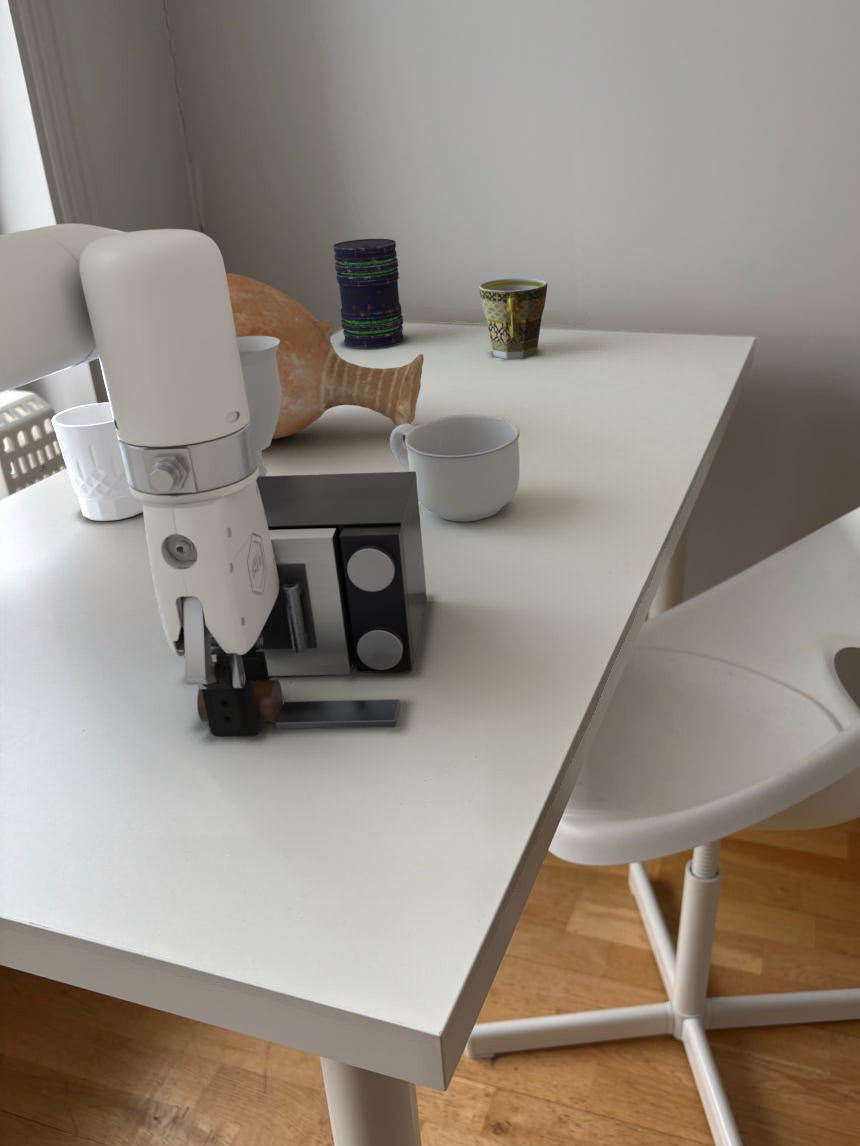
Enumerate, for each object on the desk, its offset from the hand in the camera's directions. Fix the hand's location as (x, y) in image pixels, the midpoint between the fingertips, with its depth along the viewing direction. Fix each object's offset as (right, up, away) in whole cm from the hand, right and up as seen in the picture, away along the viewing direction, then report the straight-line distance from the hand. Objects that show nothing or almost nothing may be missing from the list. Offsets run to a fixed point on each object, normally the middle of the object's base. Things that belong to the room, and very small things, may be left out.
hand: (242, 716), depth 68 cm
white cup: (-21, +18, +36) cm, 45 cm away
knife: (+4, 0, 0) cm, 4 cm away
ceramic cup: (+21, +47, +83) cm, 97 cm away
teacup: (+14, +18, +32) cm, 39 cm away
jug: (-5, +29, +53) cm, 61 cm away
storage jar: (-1, +53, +95) cm, 109 cm away
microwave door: (+1, +3, +4) cm, 5 cm away
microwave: (+3, +5, +9) cm, 11 cm away
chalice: (-4, +14, +27) cm, 30 cm away
